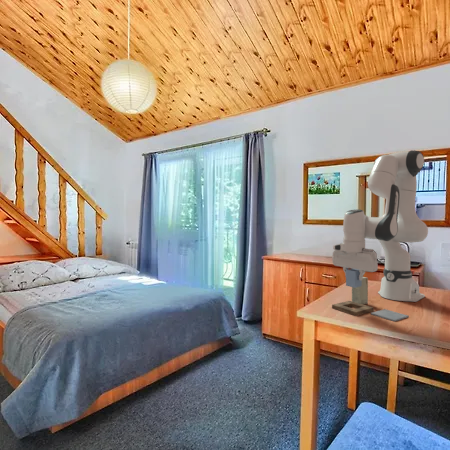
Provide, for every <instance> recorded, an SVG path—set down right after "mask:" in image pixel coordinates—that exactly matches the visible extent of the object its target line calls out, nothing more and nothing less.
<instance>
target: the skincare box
mask: <svg viewBox="0 0 450 450" xmlns="http://www.w3.org/2000/svg"><path fill="white" fill-rule="evenodd" d="M368 281H369V278H368V277H365V276H363V280H362V286H360V287H356V288H354V287H351V301H352V302H356V303H359V304H363V305H368V304H369V286H368V285H369V282H368Z"/></svg>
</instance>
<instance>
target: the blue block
mask: <svg viewBox="0 0 450 450" xmlns="http://www.w3.org/2000/svg"><path fill="white" fill-rule="evenodd" d="M359 275H360V272H359V270H357V269H352V268H349V269H348V270H346V277H345V286H347V287H350V288H352V287H354V288H356V287H360V286H362V280H357V276H359Z"/></svg>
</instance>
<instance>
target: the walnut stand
mask: <svg viewBox="0 0 450 450" xmlns="http://www.w3.org/2000/svg"><path fill="white" fill-rule="evenodd" d="M331 308H332V309H334V310H337V311H340V312H343V313H346V314H349V315H352V316H355V317H356V316H360V315H365V314H368V313H372V312H375V311H374V309H375V308H374V306H369V305H367V304H359V303H356V302H352V300H347V301H343V302H337V303H334V304H332V305H331Z"/></svg>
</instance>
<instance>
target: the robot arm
mask: <svg viewBox="0 0 450 450" xmlns="http://www.w3.org/2000/svg"><path fill="white" fill-rule="evenodd" d="M424 165H425V156H424V155H423V153H422V152H421V151H420V150H415V149H414V150H407V151H406V150H404V151H396V152H394V153H393V152H392V153H390V154H383V155H380V156H378V157H377V158H376V159H375V160H374V163H373V166H372V168H371V171H370V174H369V176H368V179H367V187H368V189H369V190H370V192H371V193H372V194H374V195H376V196H378V197H380V198H383V199H385V206H384V213H383V215H382V216H377V217H376V216H368V215H366V214H365V211H364V210H363V209H358V208H357V209H350V210H347V211H346V212H344V217H343V223H342V224H343V225H342V226H343V227H342V228H343V230H342V231H343V240H342V242H341V243H338V244H334V245H333V246H332V247H333V252H332V259H331V260H332V264H333V265H334V266H335V267H341V268H342V270H343V272H344V275H345V276H344V277H345V278H346V270H348V269H357V270H359V272H360V275H359V276H357V280H363V277H364V275H365V274H366V272H369V273H373V272H377V271H378V269H379V268H378V259H377V258H378V254H377V251H375V250H374V249H372V248H366V239H369V240H377V241H378V242H379V243H380V245H381V247H382V250H383V253H384V268H383V277H382V278H381V281H380V289H379V290H378V291H377V294H379V295H380V297H382V298H385V299H387V300H393V301H397V302H399V301H400V302H402V301H403V302H410V303H411V302H415V303H417V302H418V301H420V300H421V299H423V298H425V294H424V293H421V292H420V285H419V283H418V282H417V281H416V280H415V279H414V278H413V275H415V270H412V269H411V255H410V252H409V251H407V250H406V249H404V248H403V247H402V245H401V243H420V242H423V241H425V240H426V238H427V236H428V234H429V229H428V225H427V224H426V223H425V222H424V221H422V220H421V219H420V218H419V216H418V214H417V212H416V211H417V210H416V196H417V184H418V183H417V181H418V180H417V175H418V174H419V173H420V172H421V171H422V169H423V168H424Z"/></svg>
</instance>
